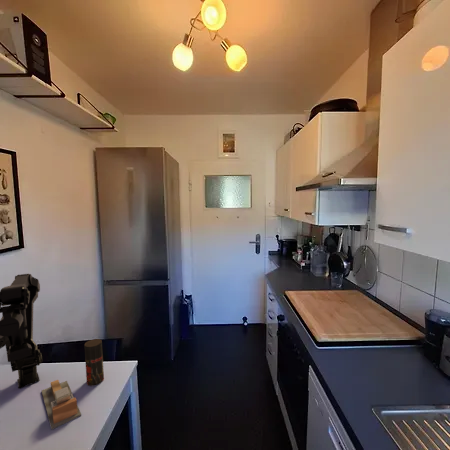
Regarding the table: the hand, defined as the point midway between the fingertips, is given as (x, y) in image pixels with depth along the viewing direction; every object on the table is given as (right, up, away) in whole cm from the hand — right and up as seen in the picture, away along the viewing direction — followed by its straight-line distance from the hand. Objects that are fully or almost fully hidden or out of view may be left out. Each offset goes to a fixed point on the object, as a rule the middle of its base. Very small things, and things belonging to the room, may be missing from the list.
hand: (19, 368), depth 92 cm
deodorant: (+21, -11, +11) cm, 26 cm away
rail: (+14, -12, 0) cm, 18 cm away
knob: (+18, -12, -5) cm, 22 cm away
